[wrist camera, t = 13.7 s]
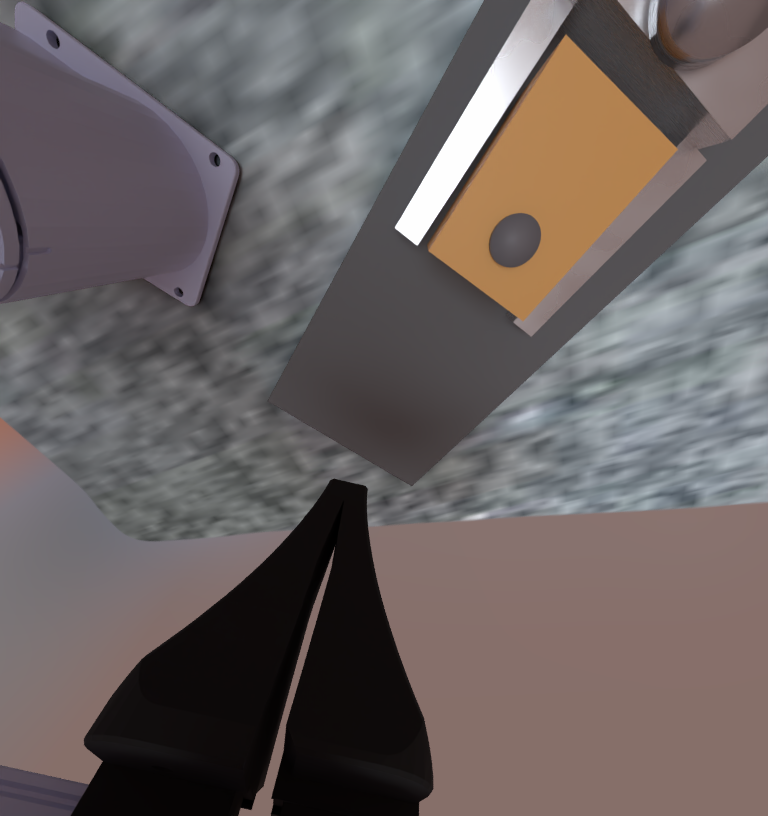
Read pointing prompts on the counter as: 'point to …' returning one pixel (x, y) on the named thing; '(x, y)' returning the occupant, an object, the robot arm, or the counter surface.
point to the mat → (456, 293)
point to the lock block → (549, 182)
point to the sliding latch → (642, 84)
